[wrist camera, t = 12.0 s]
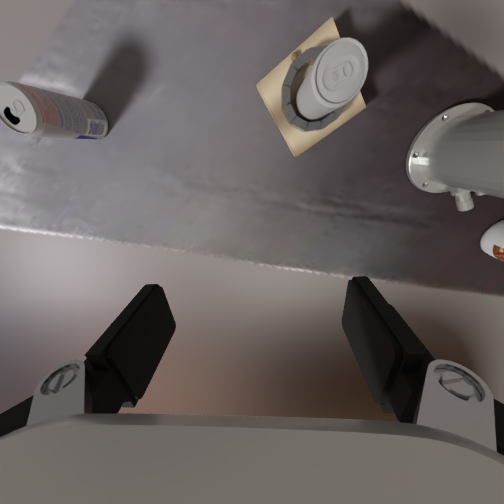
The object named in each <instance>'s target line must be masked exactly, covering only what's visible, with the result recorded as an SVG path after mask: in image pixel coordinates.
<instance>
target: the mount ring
mask: <svg viewBox="0 0 504 504" xmlns="http://www.w3.org/2000/svg"><path fill="white" fill-rule="evenodd" d="M325 47H327V45H325V46H318V47H311V48H309V49H306V50H305V51H304V52H303V53H302V54H301V55H300V56H298V57H297V58H296V59H295V60H294V61H293V62H292V64H291V65H290V67H289V69H288V72H287V74H286V77H285V79H284V81H283V84H282V87H281V109H282V112H283V114H284V116H285V118H286V120H287V121H288V123H289V124H290V125H291V126H292V127H294V128H296V129H298V130H299V131H301V132H310V131H319V130H322V129H324V128H325V127H327V126H328V125H330V124H331V123H332V122H334V121H335V120H336V119H338V117H339V116H340V114H341V113H342V111H343V109H344V107H345V106H346V104H345V105H344V106H342V107H340V108H338V109H336V110H334V111H332V112H330V113H329V114H328V115H327V116H326V117H324V118H323V119H321V120H320V121H317V122H306V121H305V120H303V119H301V118H299V117H298V116H296V114H295V112H294V110H293V108H292V106H291V104H290V86H291V83H292V81H293V79H294V76H295V75H296V74H298V73H299V72H300V71H301V70H302V69H303V68H305V67H306V66H310V65H313V64H314V62H315V61H316V59H317V57H318V55H319V54H320V53H321V52H322V51H323V50H324V48H325Z"/></svg>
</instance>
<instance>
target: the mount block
mask: <svg viewBox="0 0 504 504" xmlns="http://www.w3.org/2000/svg"><path fill="white" fill-rule="evenodd" d="M338 39H340V36H339V33H338V31H337V28H336V25H335V23H334V20H333V17H331V18H330V19H329V20H328V21H327V22H325V23H324V24H323V25H322V26H321V27H320V28H319V29H318V30H317V31H315V32H314V33H313V34H312V35H311V36H310V37H309V38H308V39H307V40H305V41H304V42H303V43H302V44H301V45H300V46H299V47H298V48H297V49H295V50H294V51H293V52H292V53H291V54H290V55H289V56H288V57H287V58H285V59H284V60H283V61H282V62H281V63H280V64H279V65H278V66H277V67H275V68H274V69H273V70H272V71H271V72H270V73H269V74H268V75H267V76H265V77H264V78H263V79H262V80H261V81H260V82H259V83H258V84H257V90H258V92H259V93H260V95H261V97H262V99H263V101H264V102H265V104H266V106H267V108H268V110H269V112H270V113H271V115H272V117H273V119H274V121H275V123H276V124H277V126H278V128H279V130H280V132H281V133H282V135H283V137H284V139H285V141H286V143H287V144H288V146H289V148H290V150H291V152H292V153H293V155H294V156H295V157H297V156H298V155H300V154H301V153H303V152H304V151H306V150H307V149H308V148H310V147H311V146H313V145H314V144H315V143H317V142H318V141H320V140H321V139H322V138H324V137H325V136H327V135H328V134H329V133H331V132H332V131H334V130H335V129H336V128H338V127H339V126H341V125H342V124H343V123H345V122H346V121H348V120H349V119H350V118H352V117H353V116H355V115H356V114H357V113H359V112H360V111H362V110H363V109H365V108H366V105H365V103H364V100H363V97H362V95H361V92H360V91H359V92H358V93H357V95H356V96H355V97H354V98H353V99H352V100H351V101H350V102H349V103H347V104H346V106H345V107H344V109H343V111H342V113H341V114H340V116H339V117H338V119H336V120H335V121H334V122H332V123H331V124H330V125H328V126H327V127H325V128H324V129H322V130H319V131H310V132H301V131H299V130H298V129H296V128H294V127H292V126H291V125H290V124H289V123H288V121H287V120H286V118H285V116H284V114H283V112H282V109H281V87H282V84H283V81H284V79H285V77H286V74H287V72H288V69H289V67H290V65H291V64H292V62H293V61H294V60H295V59H296V58H297V57H298V56H300V55H301V54H302V53H303V52H304V51H305V50H306V49H309V48H311V47H318V46H325V45H327V46H328V45H329V44H331V43H332V42H334V41H335V40H338ZM312 66H313V65H310V66H306V67H305V68H303V69H302V70H301V71H300V72H299V73H298V74H296V75H295V76H294V79H293V81H292V83H291V86H290V104H291V106H292V108H293V110H294V112H295V114H296V116H298V117H299V118H301V119H303V120H305V121H306V122H317V121H320V120H321V119H323V118H324V117H326V116H327V115H328V114H329V113H328V114H326V115H324V116H322V117H320V118H318V119H316V120H306V119H304V118H302V117H301V116H300V115H299V113H298V111H297V109H296V95H297V92H298V90H299V88H300V86H301V84H302V83H303V81H304V79H305V78H306V76H307V74H308V72H309V71H310V69H311V67H312Z"/></svg>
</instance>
